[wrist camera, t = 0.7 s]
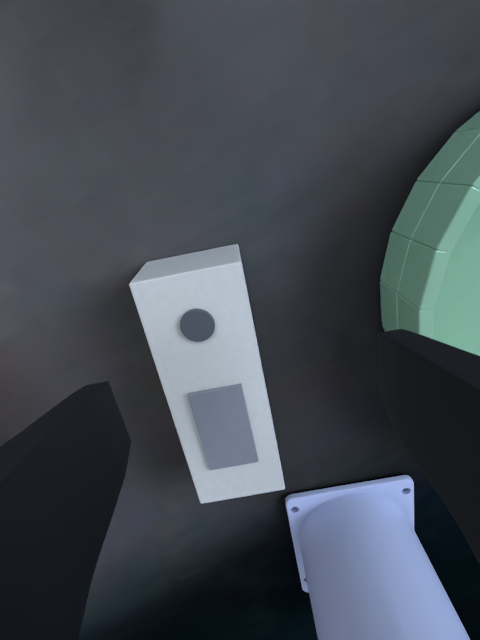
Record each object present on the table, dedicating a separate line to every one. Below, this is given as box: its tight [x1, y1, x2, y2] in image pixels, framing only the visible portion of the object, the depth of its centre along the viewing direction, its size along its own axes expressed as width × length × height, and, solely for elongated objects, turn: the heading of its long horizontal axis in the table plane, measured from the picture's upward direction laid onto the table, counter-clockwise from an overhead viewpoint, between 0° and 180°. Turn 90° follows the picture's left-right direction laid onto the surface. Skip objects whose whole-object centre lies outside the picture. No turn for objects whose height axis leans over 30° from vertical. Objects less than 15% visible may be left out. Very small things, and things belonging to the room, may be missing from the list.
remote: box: [129, 244, 285, 504], centre depth 18 cm, size 12×4×4 cm, turn 11°
